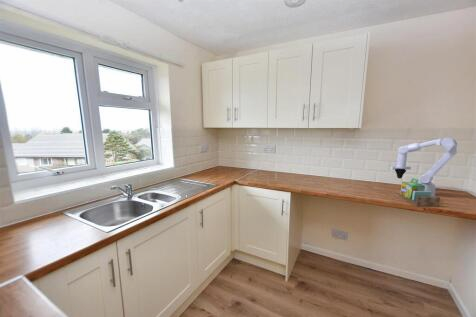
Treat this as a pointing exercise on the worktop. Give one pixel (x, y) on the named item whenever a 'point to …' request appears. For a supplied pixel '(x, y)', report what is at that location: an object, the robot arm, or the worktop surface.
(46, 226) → the worktop surface
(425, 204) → the lane
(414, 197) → the follower
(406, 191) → the chalk box
